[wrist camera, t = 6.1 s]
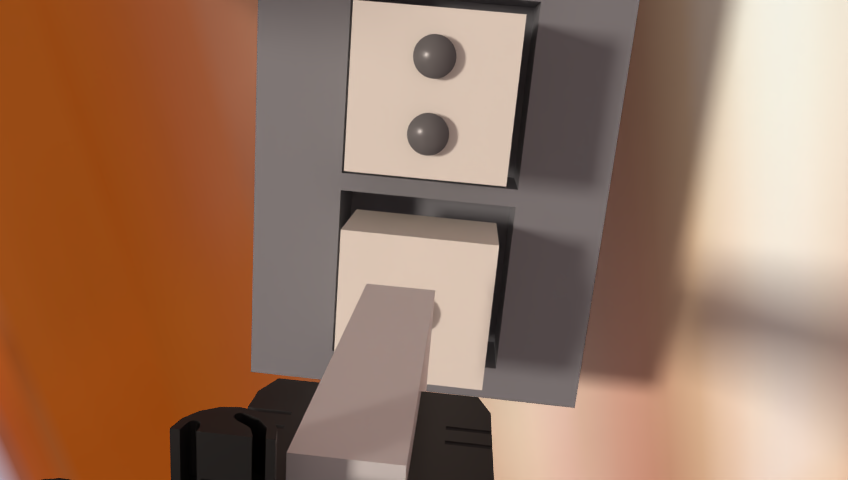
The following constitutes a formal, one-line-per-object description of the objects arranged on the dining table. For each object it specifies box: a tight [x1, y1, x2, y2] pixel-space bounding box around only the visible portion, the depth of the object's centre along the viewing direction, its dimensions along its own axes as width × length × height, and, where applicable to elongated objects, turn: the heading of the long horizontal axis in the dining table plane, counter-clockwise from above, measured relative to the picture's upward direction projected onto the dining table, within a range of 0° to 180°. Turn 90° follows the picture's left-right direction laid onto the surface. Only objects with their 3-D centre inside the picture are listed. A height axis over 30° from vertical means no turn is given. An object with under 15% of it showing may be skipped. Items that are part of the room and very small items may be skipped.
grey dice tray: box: [251, 0, 640, 408], centre depth 20 cm, size 10×18×3 cm, turn 175°
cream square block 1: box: [334, 209, 499, 390], centre depth 19 cm, size 4×4×3 cm
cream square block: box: [344, 0, 527, 187], centre depth 17 cm, size 4×4×3 cm
